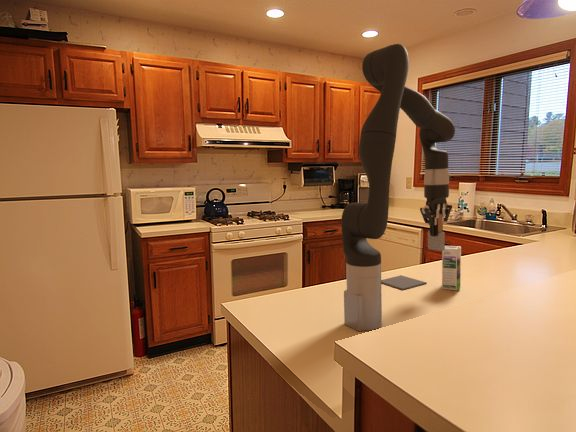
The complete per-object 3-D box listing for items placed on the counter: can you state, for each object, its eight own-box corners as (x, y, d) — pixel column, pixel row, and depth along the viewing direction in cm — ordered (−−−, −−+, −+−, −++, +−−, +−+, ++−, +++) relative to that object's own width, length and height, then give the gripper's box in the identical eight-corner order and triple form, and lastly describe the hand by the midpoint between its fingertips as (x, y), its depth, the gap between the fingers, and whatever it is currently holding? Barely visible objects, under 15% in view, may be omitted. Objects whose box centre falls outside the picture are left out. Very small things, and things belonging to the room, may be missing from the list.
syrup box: (441, 289, 128) (441, 247, 127) (443, 284, 134) (443, 244, 132) (459, 291, 126) (460, 248, 124) (460, 286, 131) (461, 245, 129)
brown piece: (440, 251, 121) (440, 214, 120) (427, 248, 126) (427, 213, 124) (444, 250, 122) (444, 213, 121) (431, 247, 127) (431, 212, 125)
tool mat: (402, 290, 129) (402, 288, 129) (378, 282, 139) (378, 280, 139) (426, 283, 135) (426, 282, 135) (401, 276, 145) (401, 275, 145)
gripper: (431, 184, 115) (431, 240, 117) (460, 182, 122) (459, 234, 124) (412, 184, 121) (412, 236, 123) (440, 182, 128) (440, 231, 130)
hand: (436, 235), depth 123 cm, fingers closed on brown piece, 2 cm apart
